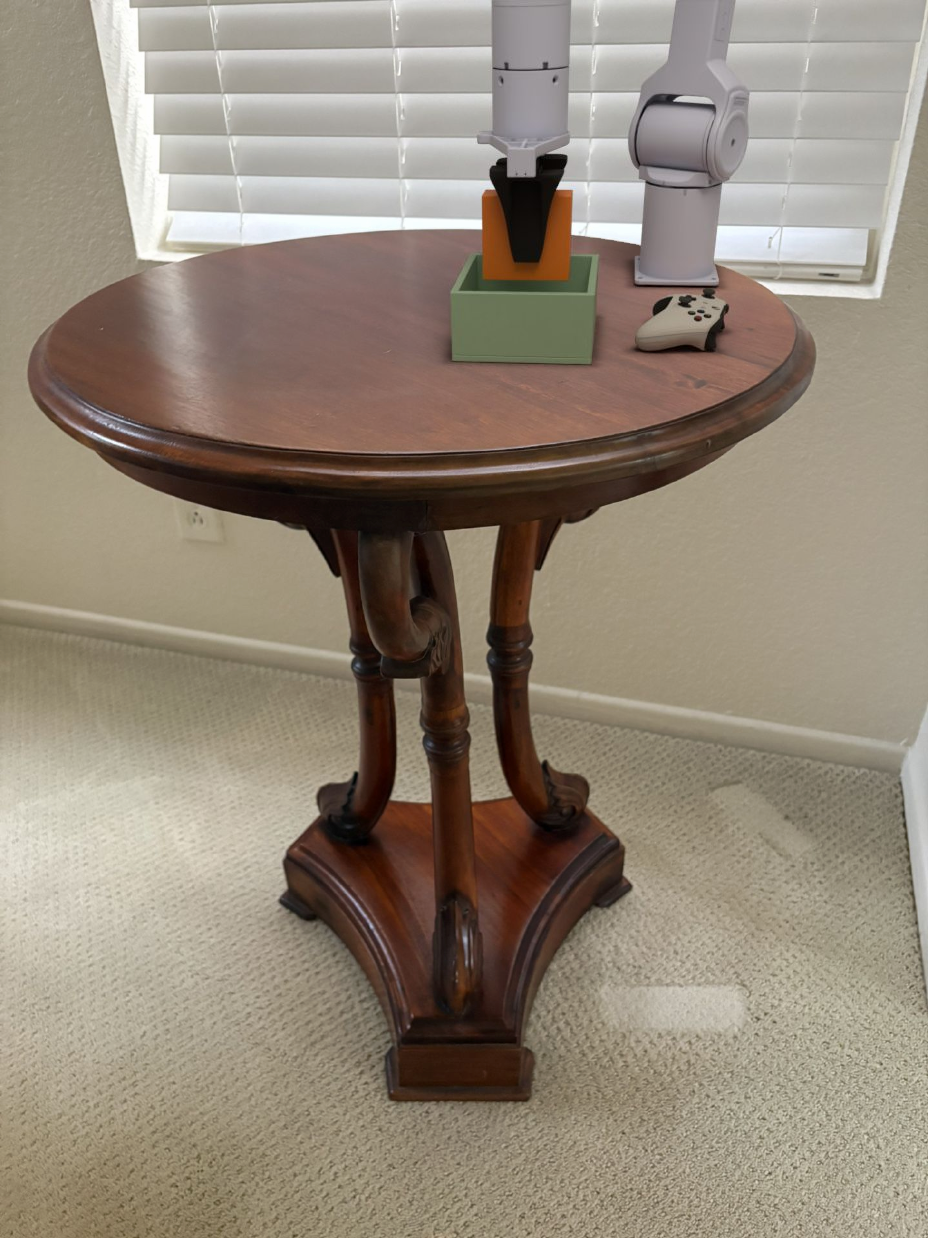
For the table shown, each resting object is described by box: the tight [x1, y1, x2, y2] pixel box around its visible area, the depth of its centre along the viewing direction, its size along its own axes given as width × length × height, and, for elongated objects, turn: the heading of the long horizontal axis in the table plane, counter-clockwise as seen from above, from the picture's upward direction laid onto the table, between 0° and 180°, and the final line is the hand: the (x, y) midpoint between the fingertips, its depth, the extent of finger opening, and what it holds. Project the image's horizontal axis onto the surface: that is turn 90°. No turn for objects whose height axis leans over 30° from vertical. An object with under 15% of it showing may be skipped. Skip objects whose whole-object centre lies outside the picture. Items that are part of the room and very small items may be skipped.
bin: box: [449, 252, 600, 365], centre depth 84 cm, size 12×11×6 cm
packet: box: [481, 189, 574, 281], centre depth 81 cm, size 2×7×6 cm, turn 82°
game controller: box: [634, 287, 730, 352], centre depth 84 cm, size 10×5×6 cm
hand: (528, 256), depth 82 cm, fingers closed on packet, 2 cm apart
